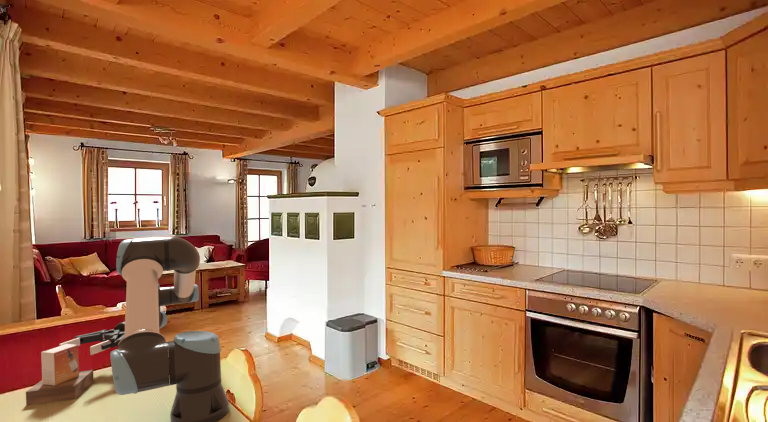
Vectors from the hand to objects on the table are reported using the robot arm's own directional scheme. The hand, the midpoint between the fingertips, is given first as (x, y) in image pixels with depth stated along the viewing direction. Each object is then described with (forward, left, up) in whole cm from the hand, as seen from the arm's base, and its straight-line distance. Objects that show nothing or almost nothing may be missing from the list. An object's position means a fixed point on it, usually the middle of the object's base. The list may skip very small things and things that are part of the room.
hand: (75, 349), depth 138 cm
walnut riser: (-5, +2, -12) cm, 13 cm away
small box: (-5, +2, -8) cm, 10 cm away
